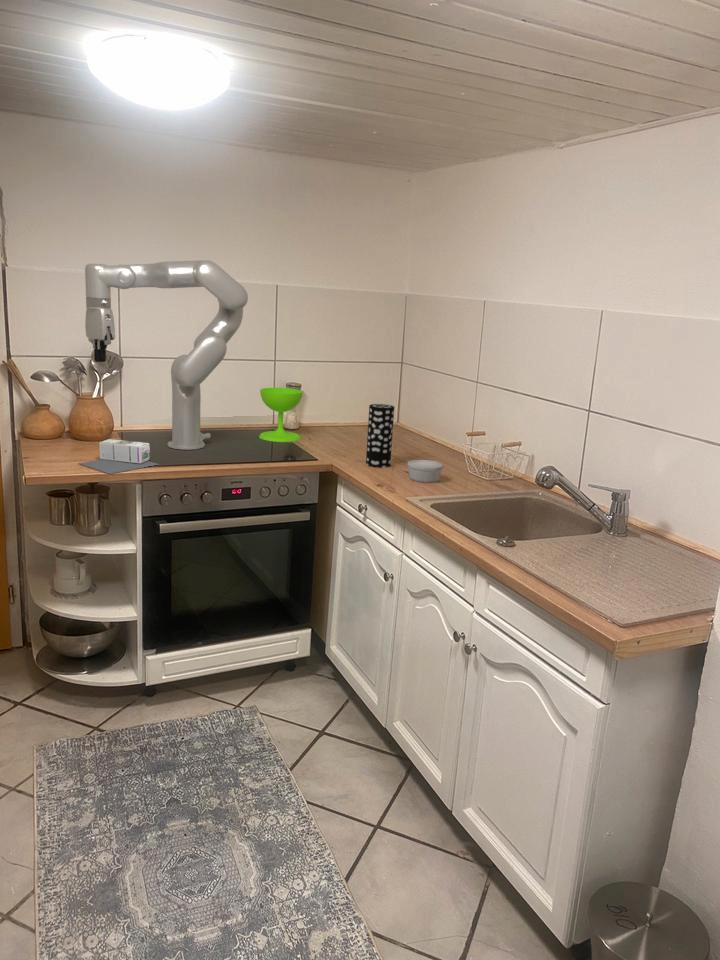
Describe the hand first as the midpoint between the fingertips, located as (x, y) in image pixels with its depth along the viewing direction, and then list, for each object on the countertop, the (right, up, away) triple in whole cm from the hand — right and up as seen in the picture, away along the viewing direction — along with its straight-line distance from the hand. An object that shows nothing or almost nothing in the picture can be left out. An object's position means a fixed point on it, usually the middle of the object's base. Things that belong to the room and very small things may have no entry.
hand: (100, 361), depth 244 cm
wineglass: (+54, -23, +42) cm, 72 cm away
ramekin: (+105, -39, -7) cm, 112 cm away
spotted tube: (+91, -34, +8) cm, 97 cm away
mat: (+10, -34, -12) cm, 38 cm away
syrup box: (+3, -29, -7) cm, 30 cm away
